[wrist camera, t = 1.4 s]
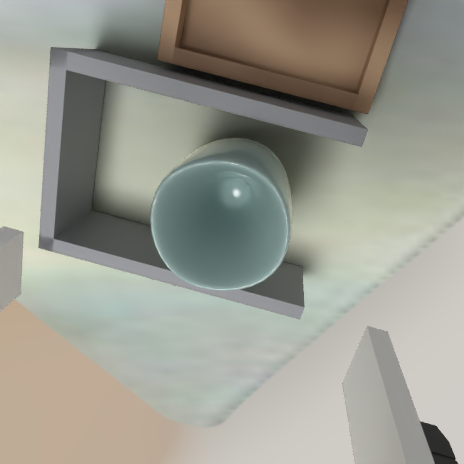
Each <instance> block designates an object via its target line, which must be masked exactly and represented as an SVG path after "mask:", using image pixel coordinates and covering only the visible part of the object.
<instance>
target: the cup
mask: <svg viewBox="0 0 464 464" xmlns="http://www.w3.org/2000/svg"><path fill="white" fill-rule="evenodd" d="M150 221H151V232H152V236H153V240H154V244H155V246H156V248H157V251H158V253H159V255H160V257H161V258H162V260H163V261H164V263H165V264H166V266H167V267H168V268H169V269H170V270H171V271H172V272H173V273H174V274H175V275H176V276H178V277H179V278H181V279H182V280H184V281H186V282H187V283H190V284H192V285H195V286H197V287H200V288H205V289H209V290H219V291H230V290H240V289H244V288H247V287H251V286H254V285H256V284H258V283H260V282H262V281H264V280H265V279H267V278H268V277H269V276H271V275H272V274H273V273H274V272H275V271H276V270H277V268H278V267H279V266H280V265H281V263H282V261H283V259H284V257H285V255H286V253H287V250H288V246H289V242H290V238H291V229H292V198H291V191H290V184H289V181H288V177H287V174H286V171H285V169H284V167H283V165H282V163H281V161H280V160H279V158H278V157H277V156H276V155H275V154H274V152H273V151H272V150H270V149H269V148H268V147H266V146H265V145H263V144H261V143H259V142H256V141H254V140H250V139H244V138H226V139H220V140H216V141H213V142H210V143H207V144H205V145H203V146H201V147H200V148H198V149H196V150H195V151H193V152H191V153H190V154H189V155H187V156H186V157H185V158H184V159H183V160H182V161H181V162H180V163H178V164H177V165H176V166H175V167H174V168H173V169H172V170H171V171H170V172H169V173H168V174H167V175H166V176H165V177H164V179H163V180H162V182H161V183H160V185H159V187H158V188H157V190H156V192H155V196H154V199H153V202H152V206H151V216H150Z"/></svg>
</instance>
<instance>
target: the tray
mask: <svg viewBox="0 0 464 464" xmlns="http://www.w3.org/2000/svg"><path fill="white" fill-rule="evenodd" d="M407 2H408V0H166V3H165V10H164V16H163V23H162V30H161V36H160V43H159V49H158V56H157V60H160V61H164V62H168V63H172V64H175V65H179V66H183V67H187V68H191V69H195V70H199V71H202V72H206V73H210V74H214V75H218V76H222V77H226V78H230V79H233V80H237V81H241V82H245V83H249V84H253V85H257V86H260V87H264V88H268V89H272V90H276V91H280V92H284V93H287V94H291V95H295V96H299V97H303V98H307V99H311V100H315V101H318V102H322V103H326V104H330V105H334V106H338V107H342V108H345V109H349V110H353V111H357V112H361V113H365V114H368V113H369V110H370V107H371V104H372V102H373V99H374V96H375V93H376V90H377V87H378V85H379V82H380V79H381V76H382V73H383V70H384V68H385V65H386V62H387V59H388V56H389V53H390V51H391V48H392V45H393V42H394V39H395V36H396V34H397V31H398V28H399V25H400V22H401V19H402V16H403V14H404V11H405V8H406V5H407Z"/></svg>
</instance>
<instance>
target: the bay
mask: <svg viewBox="0 0 464 464" xmlns="http://www.w3.org/2000/svg"><path fill="white" fill-rule="evenodd" d="M106 80H107V81H111V82H115V83H118V84H122V85H126V86H130V87H134V88H138V89H141V90H145V91H149V92H153V93H157V94H160V95H164V96H168V97H172V98H176V99H180V100H183V101H187V102H191V103H195V104H199V105H203V106H206V107H210V108H214V109H218V110H222V111H226V112H229V113H233V114H237V115H241V116H245V117H249V118H252V119H256V120H260V121H264V122H268V123H272V124H275V125H279V126H283V127H287V128H291V129H295V130H298V131H302V132H306V133H310V134H314V135H318V136H321V137H325V138H329V139H333V140H337V141H341V142H344V143H348V144H352V145H356V146H360V147H362V145H363V142H364V139H365V136H366V133H367V131H368V129H367V128H366V127H365V126H363V125H362V124H361V123H360V122H359V121H358V120H357V119H356V118H355V117H354V116H350V115H347V114H343V113H339V112H335V111H331V110H327V109H323V108H320V107H316V106H312V105H308V104H304V103H300V102H296V101H292V100H289V99H285V98H281V97H277V96H273V95H269V94H265V93H262V92H258V91H254V90H250V89H246V88H242V87H238V86H235V85H231V84H227V83H223V82H219V81H215V80H211V79H208V78H204V77H200V76H196V75H192V74H188V73H184V72H181V71H177V70H173V69H169V68H165V67H161V66H157V65H154V64H150V63H146V62H142V61H138V60H134V59H130V58H127V57H123V56H119V55H115V54H111V53H107V52H103V51H100V50H96V49H77V48H57V47H51V51H50V68H49V85H48V101H47V118H46V134H45V151H44V167H43V184H42V201H41V217H40V234H39V248H41V249H45V250H48V251H52V252H56V253H59V254H63V255H66V256H70V257H74V258H77V259H81V260H85V261H88V262H92V263H96V264H99V265H103V266H107V267H110V268H114V269H118V270H121V271H125V272H129V273H132V274H136V275H139V276H143V277H147V278H150V279H154V280H158V281H161V282H165V283H169V284H172V285H176V286H180V287H183V288H187V289H191V290H194V291H198V292H201V293H205V294H209V295H212V296H216V297H220V298H223V299H227V300H231V301H234V302H238V303H242V304H245V305H249V306H253V307H256V308H260V309H264V310H267V311H271V312H274V313H278V314H282V315H285V316H289V317H293V318H296V319H300V318H301V315H302V312H303V310H304V291H303V271H302V267H300V266H296V265H293V264H289V263H285V262H282V263H281V265H280V266H279V267H278V268H277V270H276V271H275V272H274V273H273V274H272V275H271V276H269V277H268V278H267V279H265V280H264V281H262V282H260V283H258V284H256V285H254V286H251V287H247V288H244V289H240V290H230V291H219V290H209V289H205V288H200V287H197V286H195V285H192V284H190V283H187V282H186V281H184V280H182V279H181V278H179V277H178V276H176V275H175V274H174V273H173V272H172V271H171V270H170V269H169V268H168V267H167V266H166V264H165V263H164V261H163V260H162V258H161V257H160V255H159V253H158V251H157V248H156V246H155V244H154V240H153V236H152V232H151V226H148V225H145V224H141V223H137V222H134V221H130V220H126V219H123V218H119V217H115V216H112V215H108V214H104V213H100V212H97V211H93V210H91V209H92V200H93V191H94V182H95V173H96V164H97V155H98V146H99V137H100V128H101V119H102V110H103V101H104V92H105V83H106Z"/></svg>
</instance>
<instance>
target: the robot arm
mask: <svg viewBox="0 0 464 464" xmlns="http://www.w3.org/2000/svg"><path fill="white" fill-rule="evenodd" d="M23 235H24V232H23V231H19V230H15V229H12V228H8V227H2V228H1V229H0V311H1V310H2V309H4V307H6V306H7V305H8V304H9V303H11V302H12V301H13V300H14V299H15V298H16V297H18V296H19V295H20V294H21V276H22V255H23ZM342 385H343V392H344V398H345V405H346V411H347V417H348V423H349V430H350V436H351V442H352V449H353V455H354V461H355V464H458V463H457V461H455V455H454V453H453V451H452V448H451V446H450V443H449V441H448V440H447V439H446V438H445V436H444V435H443V434H442V433H441V431H440V430H439V429H438V427H437V426H435V425H431V424H428V423H424V422H420V421H419V418H418V415H417V412H416V410H415V407H414V404H413V401H412V398H411V396H410V393H409V390H408V387H407V384H406V382H405V379H404V376H403V373H402V370H401V368H400V365H399V362H398V359H397V357H396V354H395V351H394V348H393V345H392V342H391V340H390V337H389V334H388V332H387V331H384V330H380V329H376V328H373V327H369V326H367V327H366V330H365V332H364V334H363V336H362V339H361V341H360V343H359V346H358V348H357V350H356V353H355V355H354V357H353V360H352V362H351V364H350V367H349V369H348V371H347V373H346V376H345V378H344V380H343V383H342Z"/></svg>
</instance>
